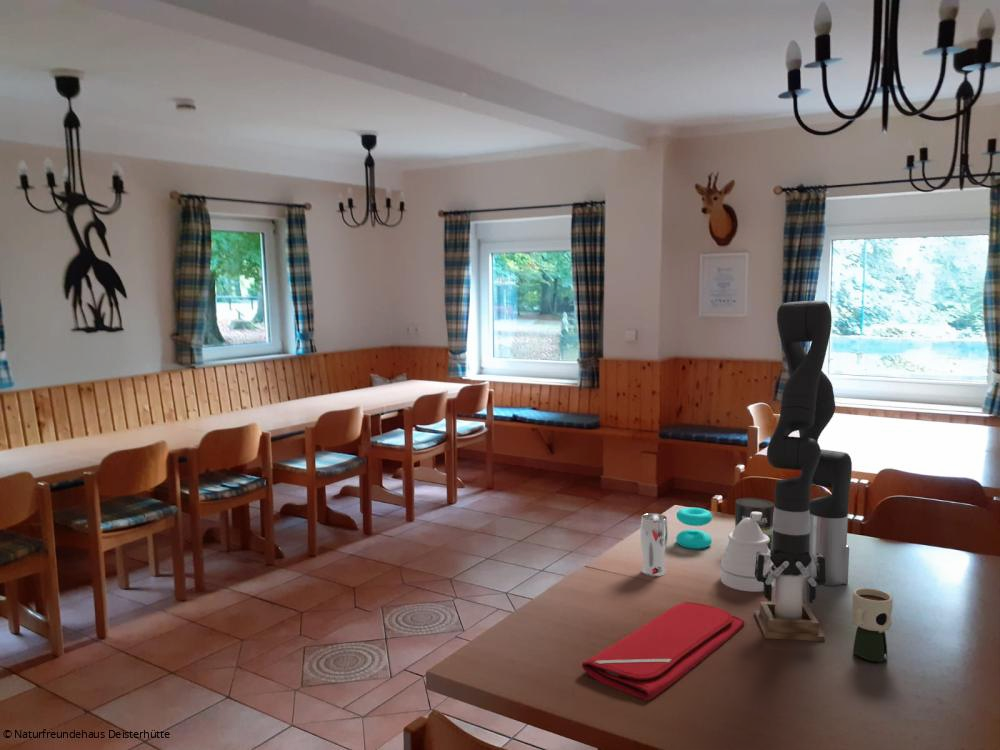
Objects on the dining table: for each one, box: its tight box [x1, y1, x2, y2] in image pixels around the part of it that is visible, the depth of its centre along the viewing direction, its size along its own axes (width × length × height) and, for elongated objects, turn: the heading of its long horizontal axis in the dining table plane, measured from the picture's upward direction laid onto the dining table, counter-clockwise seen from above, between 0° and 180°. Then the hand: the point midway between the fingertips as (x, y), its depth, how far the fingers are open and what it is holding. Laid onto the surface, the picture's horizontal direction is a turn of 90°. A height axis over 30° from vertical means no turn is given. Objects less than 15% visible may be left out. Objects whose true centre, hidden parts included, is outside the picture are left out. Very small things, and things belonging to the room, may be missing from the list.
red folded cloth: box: [581, 601, 745, 702], centre depth 156 cm, size 16×41×4 cm, turn 139°
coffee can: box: [734, 497, 775, 552], centre depth 213 cm, size 10×10×14 cm
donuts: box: [675, 506, 713, 550], centre depth 219 cm, size 10×10×10 cm
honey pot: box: [720, 512, 775, 593], centre depth 190 cm, size 13×13×18 cm
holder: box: [753, 601, 826, 642], centre depth 165 cm, size 12×12×4 cm
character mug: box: [851, 587, 894, 662], centre depth 151 cm, size 11×7×13 cm, turn 126°
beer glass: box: [640, 513, 669, 577], centre depth 197 cm, size 7×7×15 cm
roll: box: [774, 573, 804, 620], centre depth 165 cm, size 6×6×11 cm
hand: (788, 600), depth 164 cm, fingers open, 8 cm apart
